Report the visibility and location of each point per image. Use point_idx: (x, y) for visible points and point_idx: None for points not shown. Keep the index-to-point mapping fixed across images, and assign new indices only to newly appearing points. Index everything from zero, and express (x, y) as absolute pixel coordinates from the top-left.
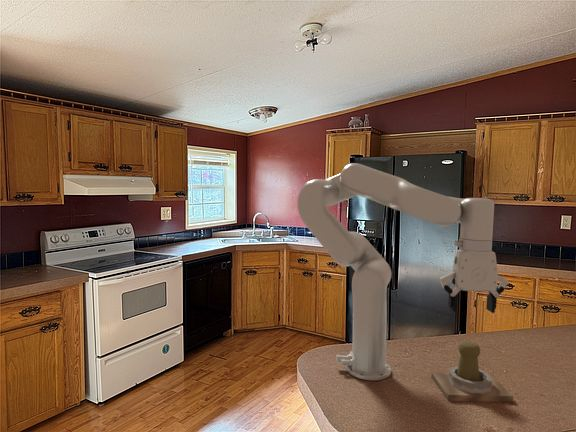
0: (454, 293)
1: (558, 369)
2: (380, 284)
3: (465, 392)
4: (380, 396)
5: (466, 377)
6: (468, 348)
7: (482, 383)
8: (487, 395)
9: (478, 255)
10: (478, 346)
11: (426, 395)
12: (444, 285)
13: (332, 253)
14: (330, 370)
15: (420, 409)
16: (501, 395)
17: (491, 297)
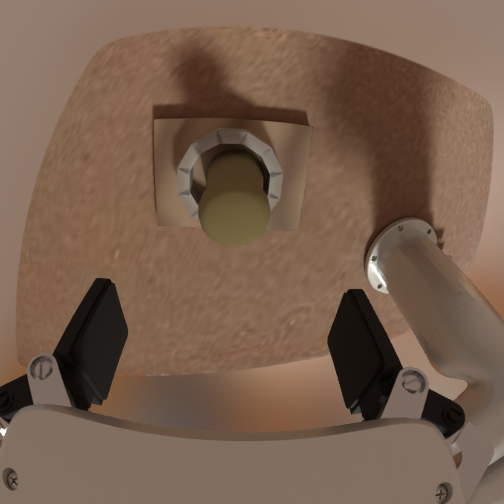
0: (403, 392)
1: (34, 258)
2: None
3: (264, 134)
4: (425, 162)
5: (251, 162)
6: (252, 190)
7: (221, 133)
8: (215, 119)
9: None
10: (206, 202)
11: (344, 152)
12: (464, 427)
13: None
14: None
15: (379, 104)
16: (180, 120)
17: (81, 368)
